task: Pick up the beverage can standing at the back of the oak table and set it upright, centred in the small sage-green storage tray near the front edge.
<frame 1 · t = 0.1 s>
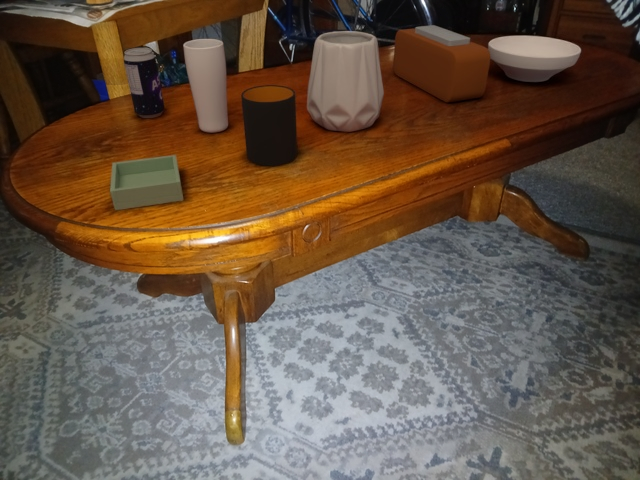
beverage can: (150, 115, 101), on the table
vase: (344, 122, 97), on the table
bowl: (526, 78, 119), on the table
tray: (149, 190, 75), on the table
brown rounded block: (434, 86, 114), on the table
mug: (265, 152, 86), on the table
drinking glass: (214, 129, 94), on the table
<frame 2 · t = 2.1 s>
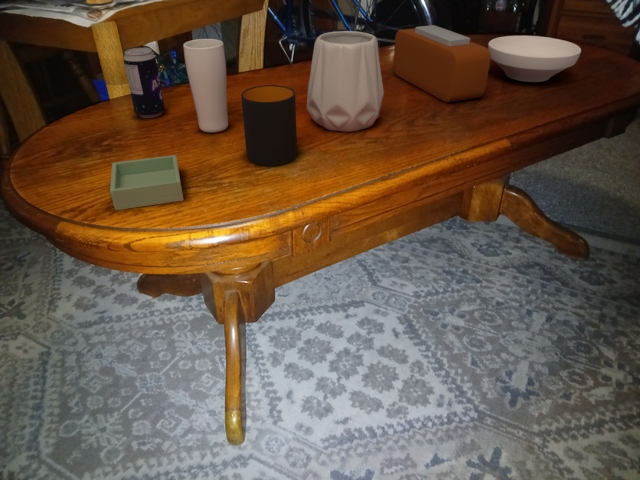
nothing on the table moved.
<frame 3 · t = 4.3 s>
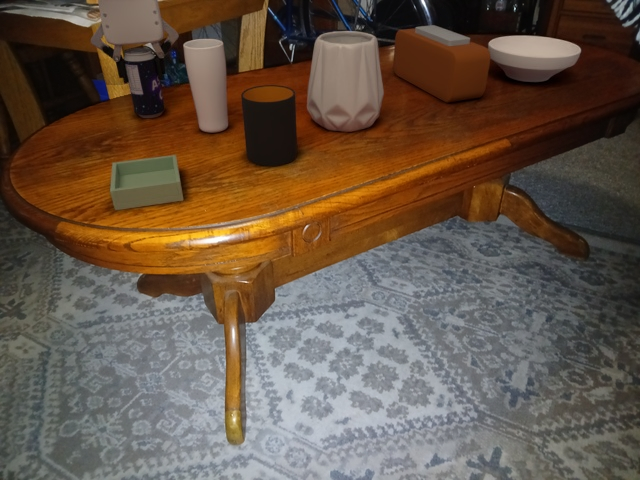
hand: (143, 78, 97), 7 cm above the table, tool pointing down, fingers closed on beverage can, 5 cm apart
beverage can: (150, 115, 101), on the table, touching gripper
everything else where it was.
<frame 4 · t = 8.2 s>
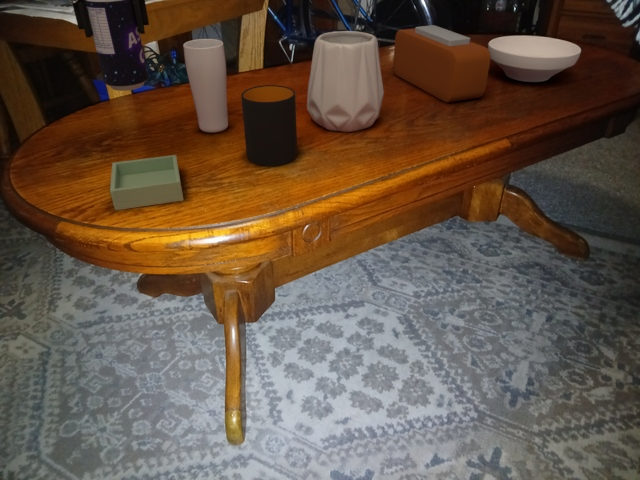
hand: (115, 31, 65), 21 cm above the table, tool pointing down, fingers closed on beverage can, 5 cm apart
beverage can: (127, 87, 69), point 14 cm above the table, touching gripper
everything else where it was.
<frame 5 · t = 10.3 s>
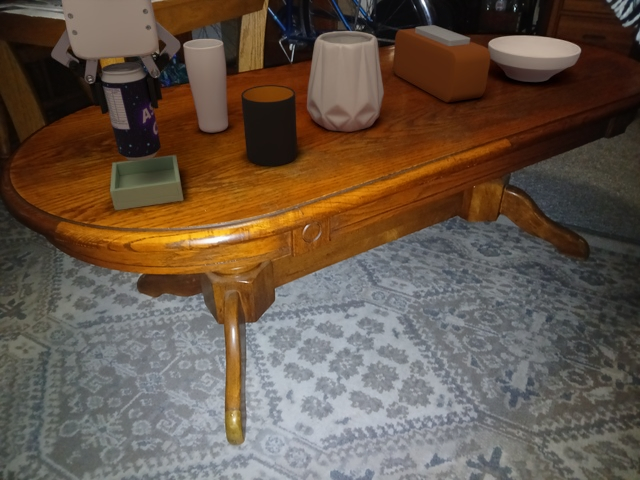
hand: (130, 106, 68), 13 cm above the table, tool pointing down, fingers closed on beverage can, 5 cm apart
beverage can: (141, 155, 72), point 5 cm above the table, touching gripper
everything else where it was.
when the fingers open (8 cm above the table, at t = 12.0 s): beverage can stays where it is, resting on tray.
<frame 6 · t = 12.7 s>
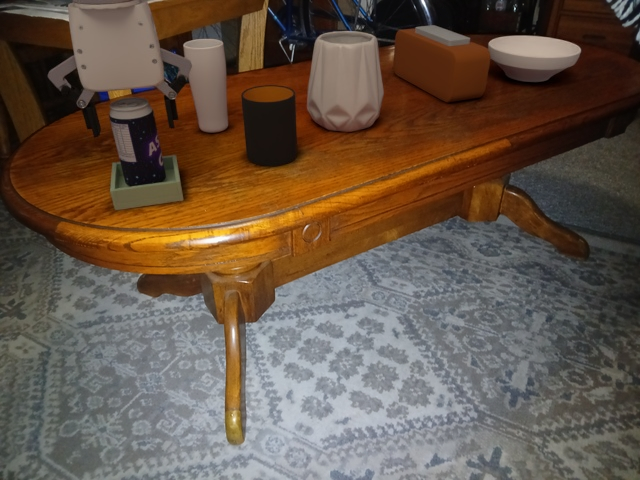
hand: (135, 129, 70), 9 cm above the table, tool pointing down, fingers open, 9 cm apart
beverage can: (147, 185, 74), point 1 cm above the table, touching tray
everything else where it was.
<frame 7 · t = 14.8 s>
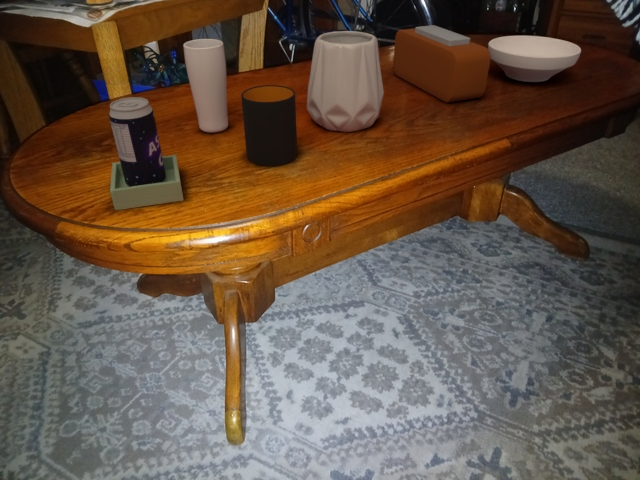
nothing on the table moved.
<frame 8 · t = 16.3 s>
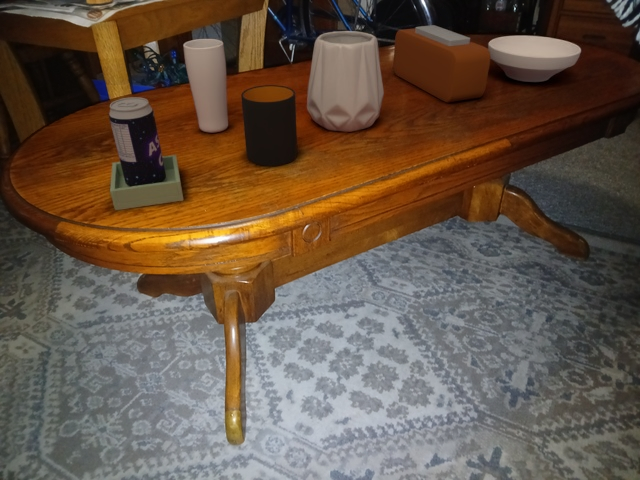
nothing on the table moved.
at the end: beverage can 0.1 cm off-centre in the tray, point 0.8 cm above the tray's base; beverage can tilted 0°; the gripper is holding nothing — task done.
